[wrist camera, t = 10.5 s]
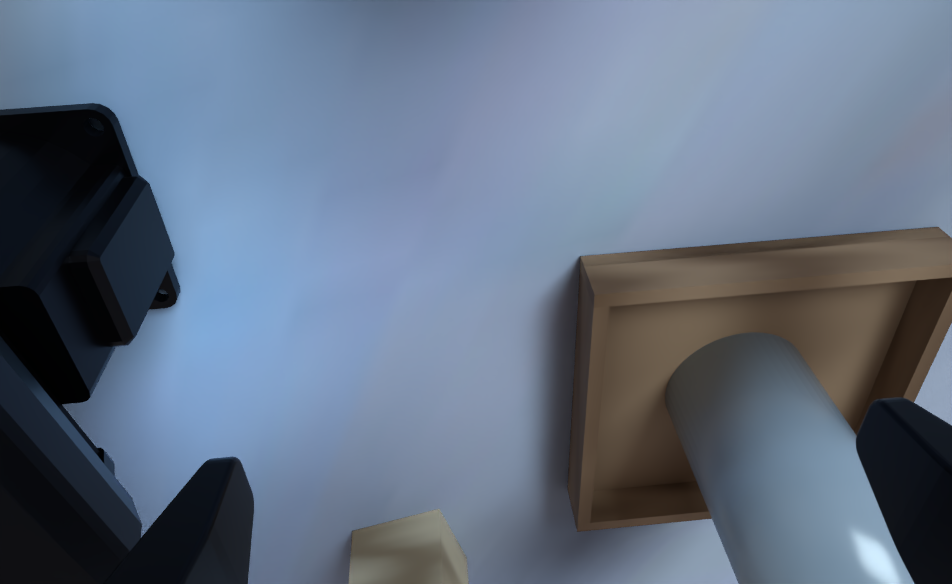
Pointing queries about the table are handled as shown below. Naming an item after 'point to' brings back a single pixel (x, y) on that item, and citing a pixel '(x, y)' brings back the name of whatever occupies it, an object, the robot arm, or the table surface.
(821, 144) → the table surface
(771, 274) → the tray
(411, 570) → the beech cube
